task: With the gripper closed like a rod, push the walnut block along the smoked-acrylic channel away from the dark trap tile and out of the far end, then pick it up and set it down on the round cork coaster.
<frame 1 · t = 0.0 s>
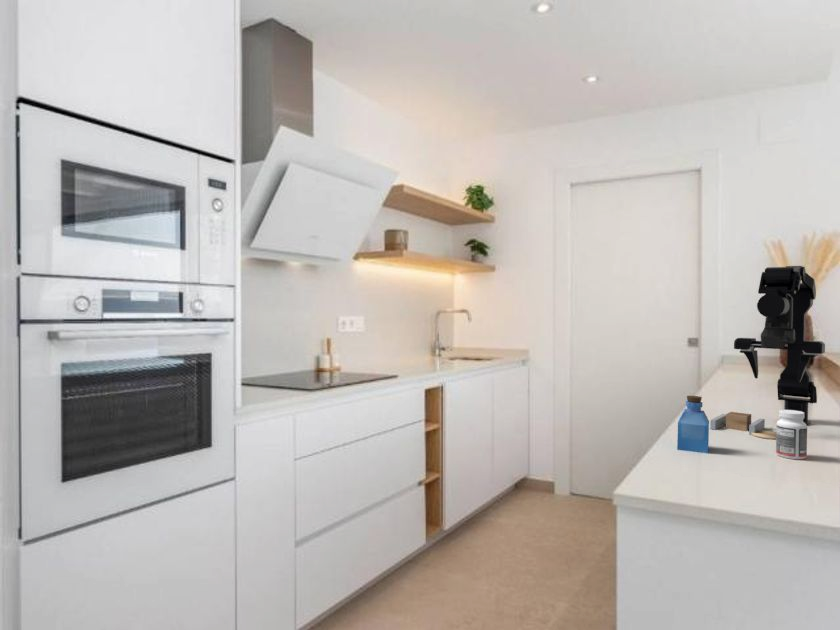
hand: (777, 380, 145), 15 cm above the counter, fingers open, 9 cm apart
trap tile: (742, 425, 160), on the counter
coaster: (768, 435, 148), on the counter
pill bottle: (790, 457, 128), on the counter
block: (738, 428, 157), on the counter
blue corked bottle: (692, 449, 134), on the counter
channel: (737, 428, 156), on the counter
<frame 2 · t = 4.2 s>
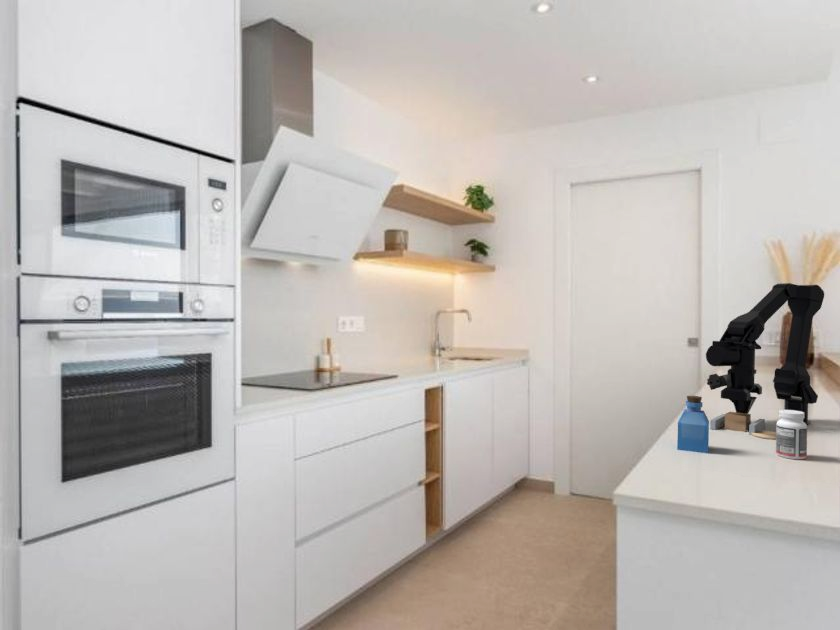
hand: (741, 422, 159), 1 cm above the counter, fingers closed
block: (737, 428, 156), on the counter, touching gripper
everything else where it was.
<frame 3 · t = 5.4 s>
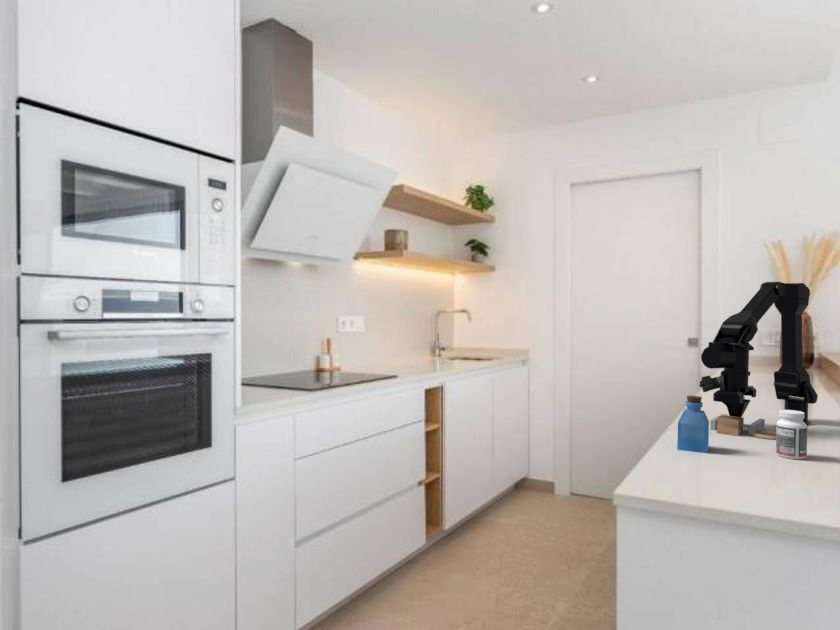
hand: (734, 426, 154), 1 cm above the counter, fingers closed
block: (730, 432, 151), on the counter, touching gripper
everything else where it was.
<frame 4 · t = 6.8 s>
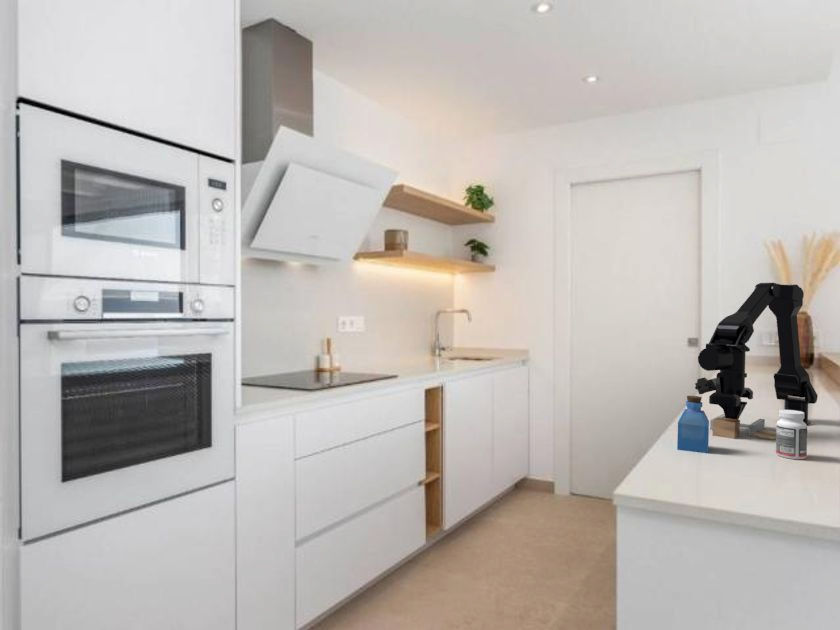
hand: (730, 428, 151), 1 cm above the counter, fingers closed
block: (726, 435, 148), on the counter, touching gripper
everything else where it was.
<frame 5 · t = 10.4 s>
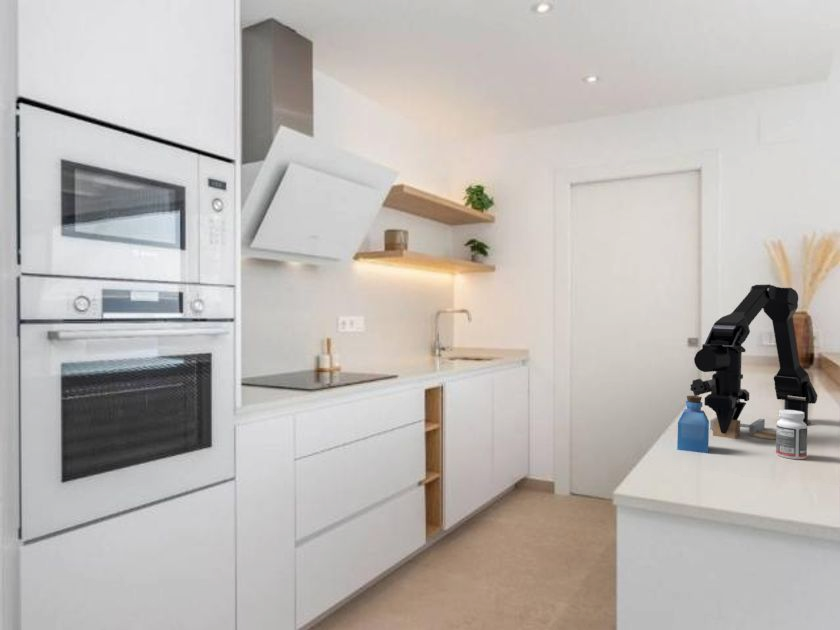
hand: (726, 431, 148), 1 cm above the counter, fingers open, 6 cm apart
nothing on the counter moved.
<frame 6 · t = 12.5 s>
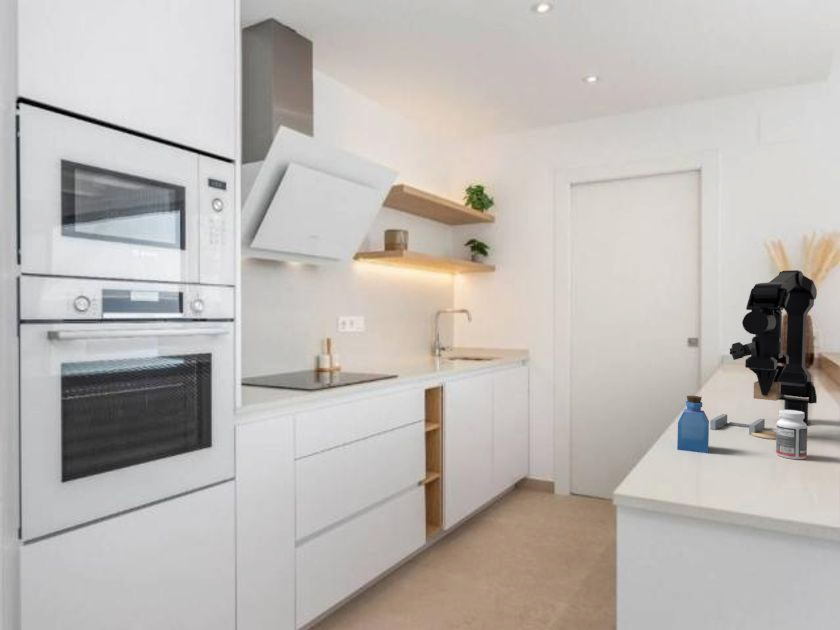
hand: (767, 394, 148), 11 cm above the counter, fingers closed on block, 5 cm apart
block: (766, 398, 148), point 10 cm above the counter, touching gripper
everything else where it was.
when the fingers open (3 cm above the counter, at t = 14.5 s): block drops 1 cm, resting on coaster.
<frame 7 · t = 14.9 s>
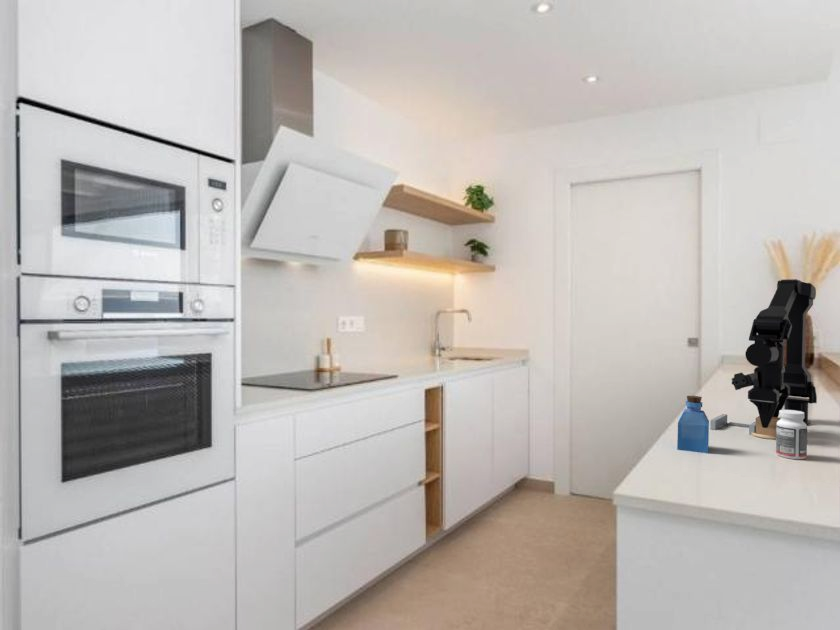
hand: (768, 425, 148), 3 cm above the counter, fingers open, 9 cm apart
block: (768, 433, 148), point 1 cm above the counter, touching coaster
everything else where it was.
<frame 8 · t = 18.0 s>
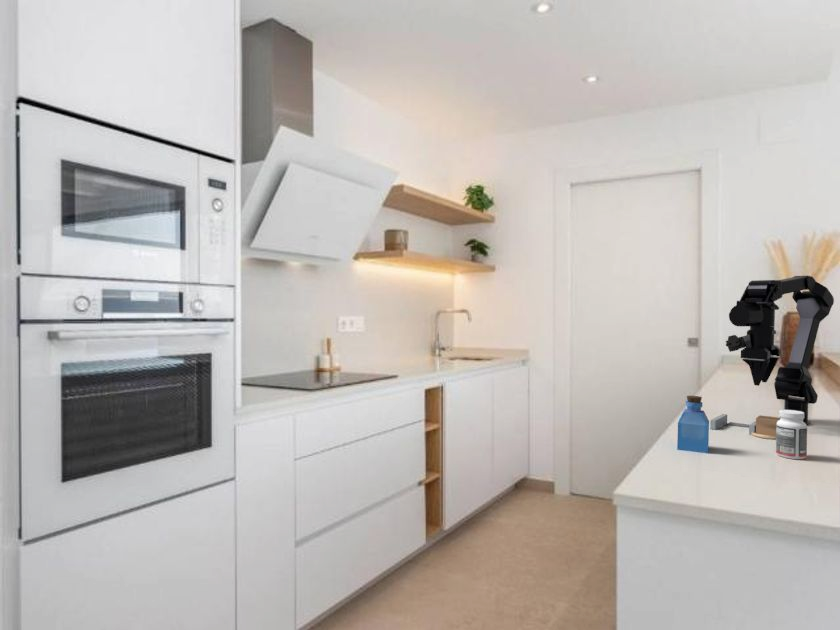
hand: (760, 383, 158), 12 cm above the counter, fingers open, 9 cm apart
nothing on the counter moved.
at the end: block 0.1 cm from the coaster (horizontally); block point 0.6 cm above the counter; the gripper is holding nothing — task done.
